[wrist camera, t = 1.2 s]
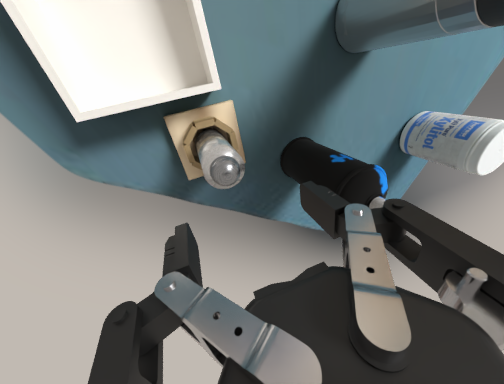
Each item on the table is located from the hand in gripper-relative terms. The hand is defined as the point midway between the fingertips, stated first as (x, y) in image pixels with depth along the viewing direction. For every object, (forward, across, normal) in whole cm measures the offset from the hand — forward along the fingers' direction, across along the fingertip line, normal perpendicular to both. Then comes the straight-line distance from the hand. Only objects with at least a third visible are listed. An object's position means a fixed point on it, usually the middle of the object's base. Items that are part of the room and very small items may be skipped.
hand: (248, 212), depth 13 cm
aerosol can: (+22, -16, +8) cm, 29 cm away
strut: (+20, 0, 0) cm, 21 cm away
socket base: (+22, 0, 0) cm, 22 cm away
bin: (+22, +5, -15) cm, 27 cm away
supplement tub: (+22, -46, +11) cm, 52 cm away
